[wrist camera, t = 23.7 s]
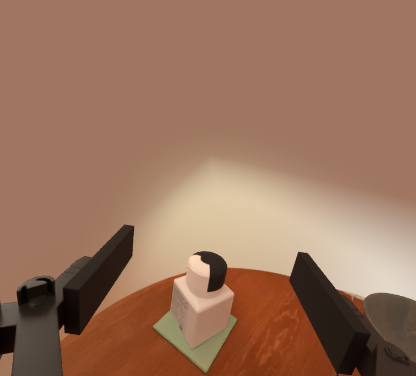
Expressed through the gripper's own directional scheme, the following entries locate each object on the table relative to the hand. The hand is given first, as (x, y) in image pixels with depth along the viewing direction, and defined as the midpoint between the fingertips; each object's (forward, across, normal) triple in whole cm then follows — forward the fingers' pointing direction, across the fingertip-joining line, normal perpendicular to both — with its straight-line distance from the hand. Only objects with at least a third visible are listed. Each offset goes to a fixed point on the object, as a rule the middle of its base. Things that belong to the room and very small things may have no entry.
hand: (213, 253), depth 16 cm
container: (+15, +1, -24) cm, 28 cm away
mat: (+14, +1, -24) cm, 28 cm away
